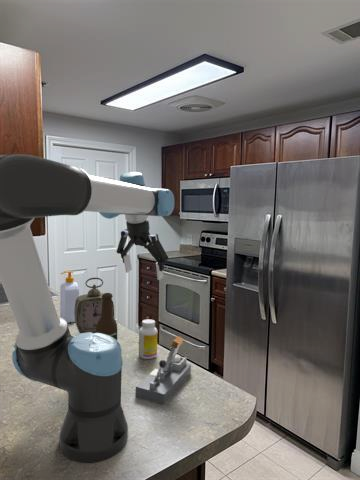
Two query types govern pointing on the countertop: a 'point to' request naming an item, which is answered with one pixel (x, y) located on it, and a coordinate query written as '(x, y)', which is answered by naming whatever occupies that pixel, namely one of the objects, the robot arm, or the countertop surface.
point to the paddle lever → (172, 354)
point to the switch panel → (163, 382)
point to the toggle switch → (162, 364)
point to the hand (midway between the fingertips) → (144, 274)
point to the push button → (177, 359)
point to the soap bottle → (68, 298)
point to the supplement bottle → (148, 339)
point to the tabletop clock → (89, 309)
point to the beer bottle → (107, 318)
